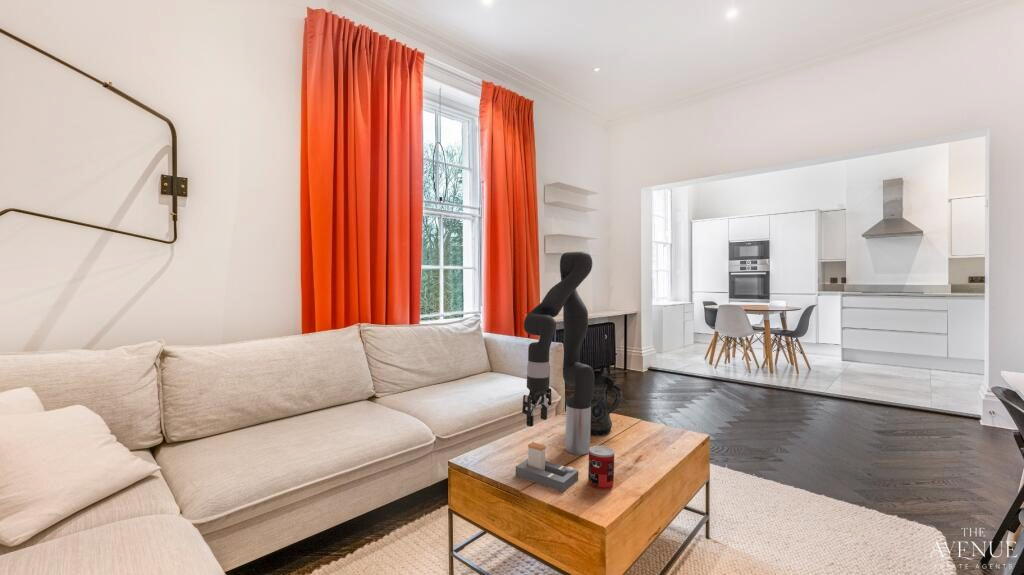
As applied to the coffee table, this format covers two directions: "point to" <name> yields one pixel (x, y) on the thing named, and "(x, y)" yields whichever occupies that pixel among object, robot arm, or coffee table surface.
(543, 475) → the console
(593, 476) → the canned food
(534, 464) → the fader tab
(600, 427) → the beer stein
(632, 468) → the coffee table surface
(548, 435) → the coffee table surface
